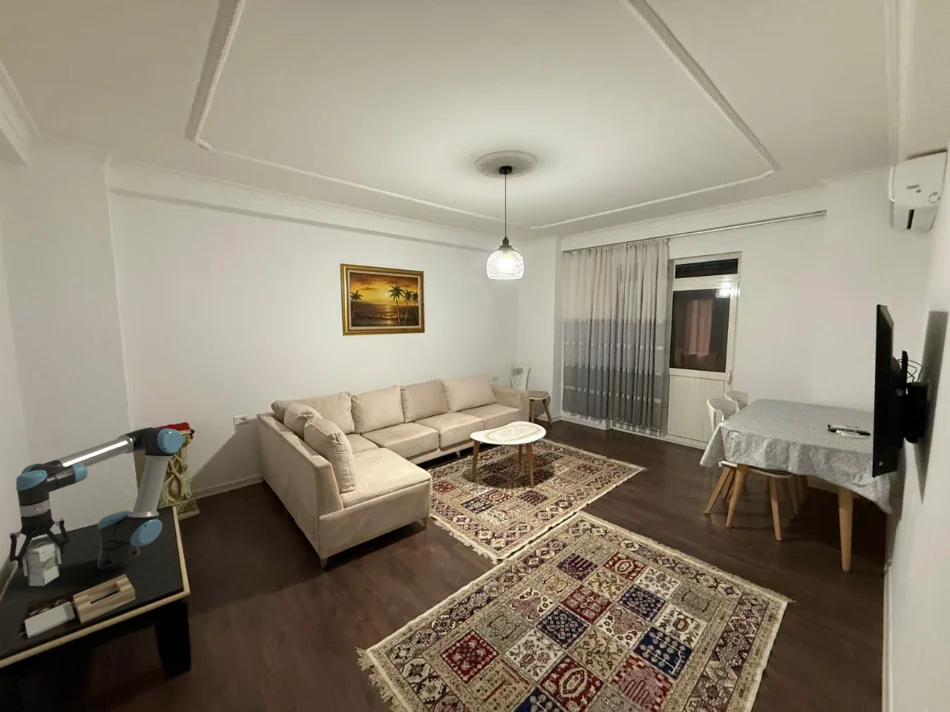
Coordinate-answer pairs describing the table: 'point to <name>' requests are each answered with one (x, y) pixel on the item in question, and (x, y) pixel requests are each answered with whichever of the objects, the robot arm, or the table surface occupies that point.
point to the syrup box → (42, 563)
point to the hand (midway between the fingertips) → (43, 568)
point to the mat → (49, 619)
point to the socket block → (104, 605)
